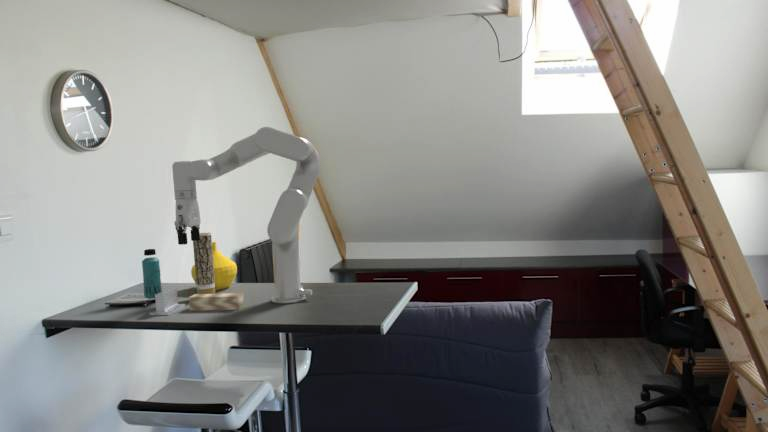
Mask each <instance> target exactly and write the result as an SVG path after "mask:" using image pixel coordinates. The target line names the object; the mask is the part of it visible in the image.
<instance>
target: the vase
mask: <svg viewBox="0 0 768 432" xmlns="http://www.w3.org/2000/svg"><path fill="white" fill-rule="evenodd" d="M217 248H218V247H217V242H216V241H212V252H213V266H214V280H215V291H219V290H220V291H221V290H225V289H227V288H229V287H230V286H231V285H232V284H233V282H234V281H235V279H236V276H237V273H238V266H237V263H236V262H235V261H233V260H231V259H230V258H228V257H227V256H225V255H224V254H223V253H222V252H220V251H219V250H218V249H217ZM190 274H191V277H192V280H193V281H194V283H195V284H196V274H195V264H193V266H192V267H191V270H190Z"/></svg>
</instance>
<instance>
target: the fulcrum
mask: <svg viewBox="0 0 768 432" xmlns="http://www.w3.org/2000/svg"><path fill="white" fill-rule="evenodd" d="M161 291H162V292H160V293H158V294H156V295H155V298H154V299H155V309H154V310H152V311H150V312H149V316H170V315H173V314H174V313H176V312H177V311H179V310H181V309H184V308H185V307H186V303H179V298H178V297H179V296H178V288H177V287H176V288H175V287H173V288H172V287H171V288H167V289H164V290H161Z"/></svg>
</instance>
